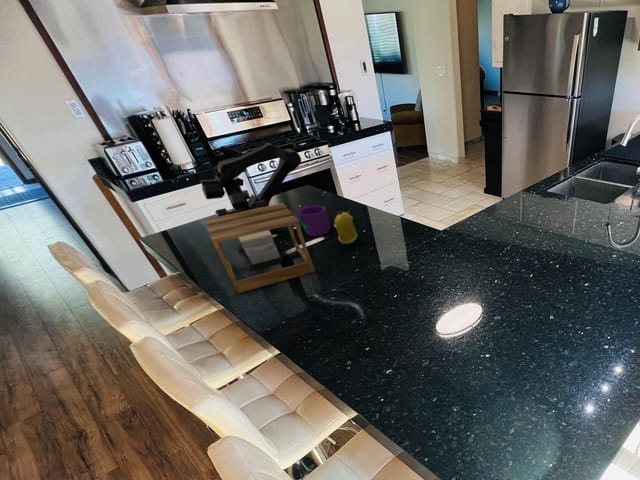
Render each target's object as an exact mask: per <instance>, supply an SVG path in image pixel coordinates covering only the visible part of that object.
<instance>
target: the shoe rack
mask: <svg viewBox="0 0 640 480" xmlns="http://www.w3.org/2000/svg"><path fill="white" fill-rule="evenodd" d="M204 222H205V224H206V226H207V230H208V233H209V236H210V239H211V241H212V244H213V246H214V247H215V250H216V252H217V254H218V256H219V258H220V260H221V262H222V264H223V266H224V268H225V269H226V273H227V274H228V277H229V278H230V280H231V282H232V284H233V287H234V289H235V290H236V293H237V294H241V293H245V292H248V291H252V290H255V289H259V288H263V287H265V286H270V285H273V284H277V283H279V282H283V281H287V280H290V279H293V278H297V277H300V276H304V275H308V274H310V273H315V271H316V270H315V268H314V265H313V262H312V259H311V256H310V253H309V250H308V247H307V244H306V241H305V238H304V235H303V232H302V229H301V226H300V224H299V221H298V219H297V218H296V217H295V215H293V213H292V212H291V210H290V209H288V207H287V205H286V204H285V203H284V202H281V203H275V204H272V205H271V204H270V205H269V206H266V207H261V208H257V209H252V210H247V211H242V212H238V213H233V214H228V215H223V216H219V217H217V216H215V217H210V218H205V219H204ZM293 226H294V228H295V229H296V233H297V235H298V238H299V241H300V244H301V246H300V245H299V244H298V241H297V238H296V235H295V233H294V229H293ZM284 227H287V229H288V231H289V234H290V237H291V240H292V243H293V246H294V249H295V251H296V252H298V253H299V255H300V256H301V257H302V259H303V262H300V263H296V264H293V265H290V266H285V267H281V268H278V269H274V270H271V271H268V272H263V273H260V274H256V275H253V276H248V277H246V278H242V279H238V280H237V278H236V275H235V273H234V269H233V267H232V265H231V263H230V260H229V258H228V256H227V254H226V252H225V249H224V248H223V245H222V244H221V242H225V241H228V240H233V239H236V238H238V237H242V236H246V235H250V234H255V233H259V232H263V231H267V230H272V229H276V228H278V229H280V228H284ZM238 239H239V238H238ZM301 247H302V248H301ZM311 269H313V270H311Z"/></svg>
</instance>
